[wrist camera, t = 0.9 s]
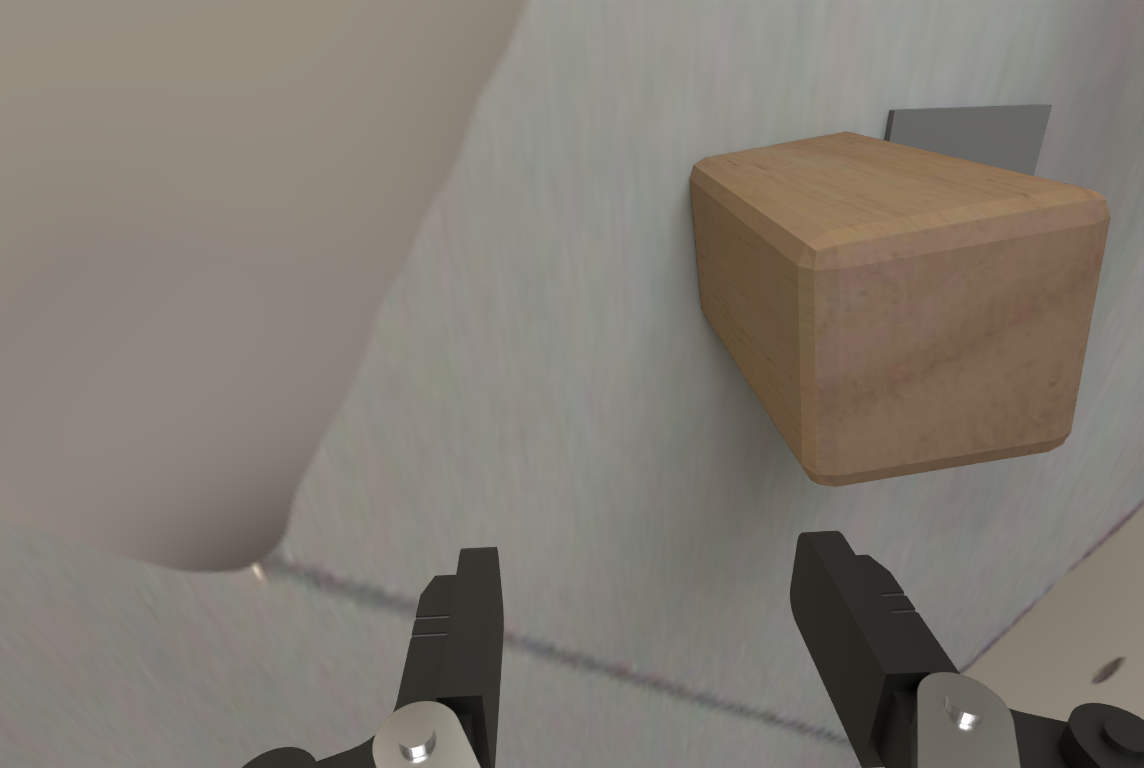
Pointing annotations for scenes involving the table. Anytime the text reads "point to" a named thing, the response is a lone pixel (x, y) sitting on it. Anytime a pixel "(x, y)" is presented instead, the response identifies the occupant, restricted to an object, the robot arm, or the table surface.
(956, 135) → the mat
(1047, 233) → the block
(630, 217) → the table surface
